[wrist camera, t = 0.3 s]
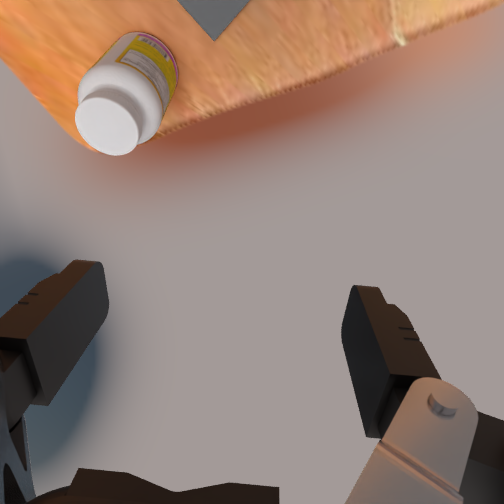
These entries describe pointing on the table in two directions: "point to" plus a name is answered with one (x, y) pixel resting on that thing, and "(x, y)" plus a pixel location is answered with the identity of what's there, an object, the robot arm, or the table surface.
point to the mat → (213, 13)
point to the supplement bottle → (126, 94)
